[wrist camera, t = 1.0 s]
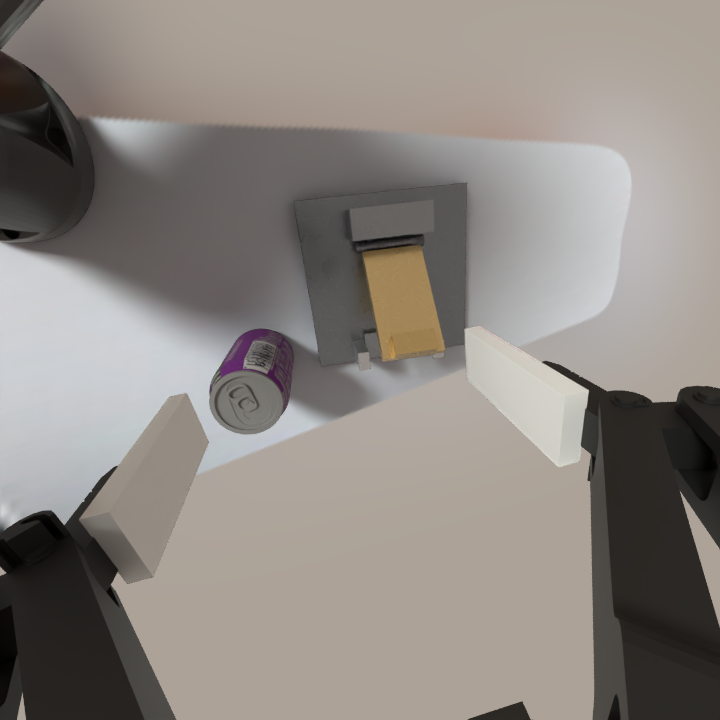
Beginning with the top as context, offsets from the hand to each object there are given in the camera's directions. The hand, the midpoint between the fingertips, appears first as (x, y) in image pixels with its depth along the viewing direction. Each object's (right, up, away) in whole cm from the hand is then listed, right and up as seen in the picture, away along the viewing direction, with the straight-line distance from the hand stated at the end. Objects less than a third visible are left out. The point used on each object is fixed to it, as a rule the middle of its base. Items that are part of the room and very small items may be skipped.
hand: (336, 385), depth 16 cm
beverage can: (-10, +2, +24) cm, 27 cm away
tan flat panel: (+5, +8, +18) cm, 20 cm away
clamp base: (+4, +11, +23) cm, 26 cm away
